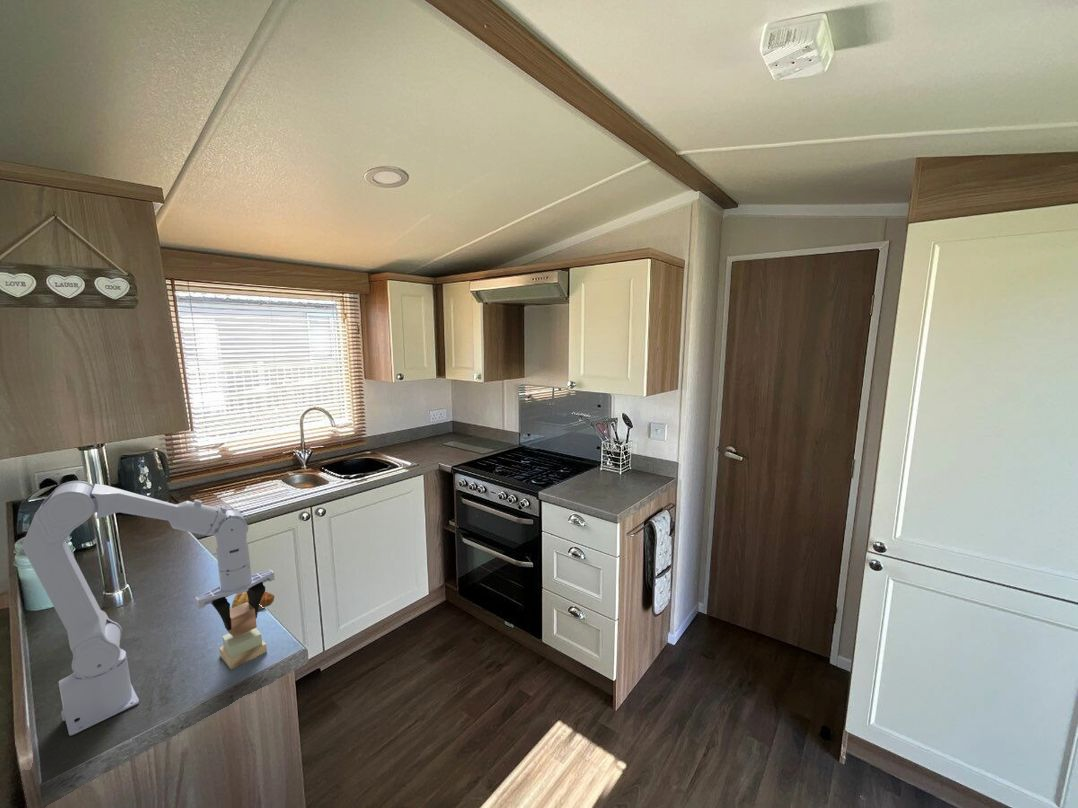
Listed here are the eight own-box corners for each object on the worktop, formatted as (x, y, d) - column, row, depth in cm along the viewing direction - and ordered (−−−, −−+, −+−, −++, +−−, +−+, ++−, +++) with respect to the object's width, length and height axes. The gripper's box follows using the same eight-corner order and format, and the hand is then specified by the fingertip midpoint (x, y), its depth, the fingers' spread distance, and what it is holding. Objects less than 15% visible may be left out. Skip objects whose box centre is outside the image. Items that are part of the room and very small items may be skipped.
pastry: (278, 596, 124) (276, 583, 124) (269, 610, 118) (268, 597, 117) (239, 601, 122) (238, 588, 121) (229, 616, 115) (227, 602, 115)
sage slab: (231, 658, 96) (229, 647, 96) (223, 646, 100) (222, 636, 100) (262, 644, 101) (261, 633, 101) (253, 633, 105) (252, 623, 105)
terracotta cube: (233, 637, 97) (231, 618, 96) (226, 629, 100) (224, 611, 99) (256, 627, 101) (254, 608, 100) (249, 620, 103) (247, 601, 103)
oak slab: (231, 671, 96) (230, 661, 96) (220, 658, 100) (219, 647, 100) (267, 654, 101) (265, 643, 101) (255, 641, 106) (254, 631, 105)
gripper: (200, 585, 90) (208, 647, 92) (277, 557, 101) (283, 613, 103) (189, 574, 94) (197, 634, 96) (265, 549, 106) (270, 603, 107)
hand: (241, 622), depth 100 cm, fingers closed on terracotta cube, 4 cm apart
